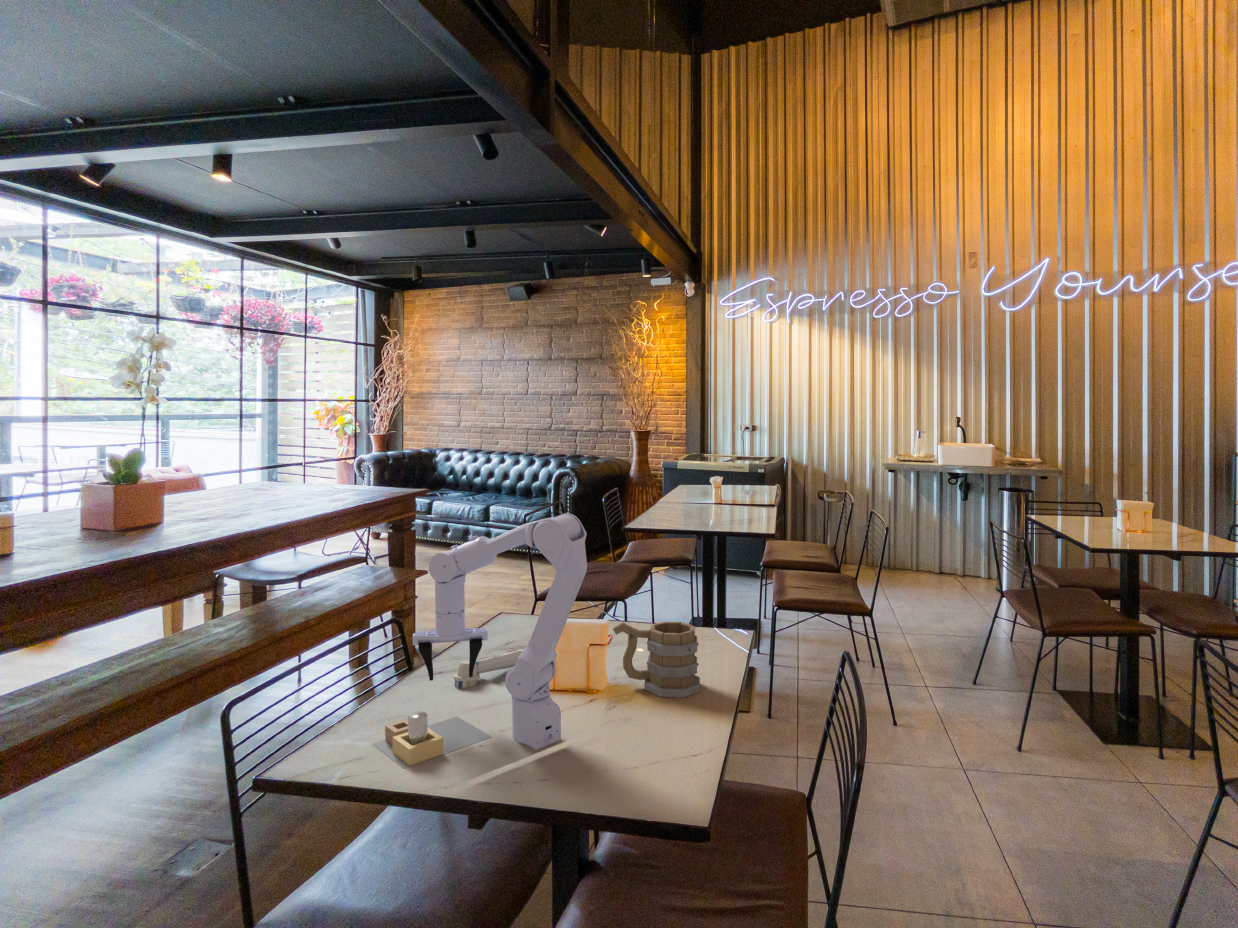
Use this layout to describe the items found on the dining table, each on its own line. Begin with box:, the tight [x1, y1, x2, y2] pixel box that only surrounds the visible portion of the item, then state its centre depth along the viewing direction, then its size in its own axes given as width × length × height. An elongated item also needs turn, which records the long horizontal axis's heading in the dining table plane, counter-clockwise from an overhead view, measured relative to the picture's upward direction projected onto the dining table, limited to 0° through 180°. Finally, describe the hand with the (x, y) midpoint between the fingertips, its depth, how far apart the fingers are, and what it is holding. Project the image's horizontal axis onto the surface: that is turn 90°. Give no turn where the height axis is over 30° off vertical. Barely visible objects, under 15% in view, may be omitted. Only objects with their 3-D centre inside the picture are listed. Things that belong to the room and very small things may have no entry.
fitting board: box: [371, 716, 492, 770], centre depth 132 cm, size 13×18×4 cm
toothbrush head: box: [453, 646, 526, 689], centre depth 169 cm, size 5×7×25 cm
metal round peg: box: [407, 711, 428, 745], centre depth 127 cm, size 3×3×7 cm
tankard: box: [612, 621, 701, 699], centre depth 161 cm, size 20×13×15 cm, turn 84°
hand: (451, 677), depth 140 cm, fingers open, 7 cm apart
